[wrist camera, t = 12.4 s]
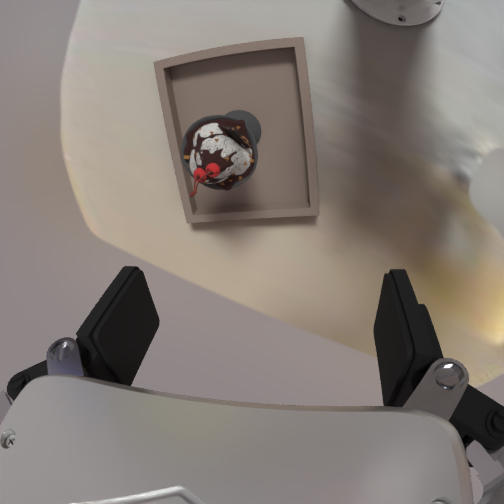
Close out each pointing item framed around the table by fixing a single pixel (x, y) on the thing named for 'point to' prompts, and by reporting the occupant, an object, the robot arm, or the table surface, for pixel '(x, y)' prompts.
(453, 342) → the table surface
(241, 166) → the sundae
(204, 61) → the tray
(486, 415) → the robot arm
